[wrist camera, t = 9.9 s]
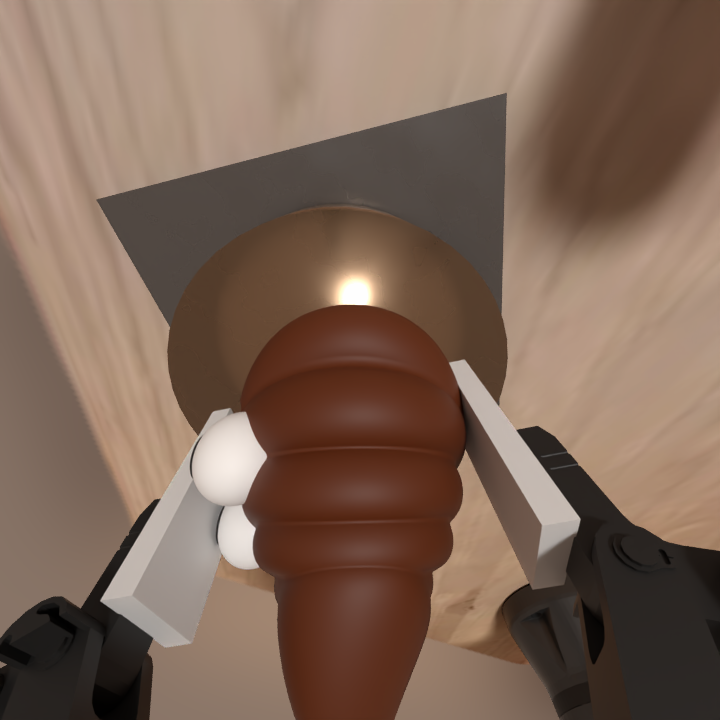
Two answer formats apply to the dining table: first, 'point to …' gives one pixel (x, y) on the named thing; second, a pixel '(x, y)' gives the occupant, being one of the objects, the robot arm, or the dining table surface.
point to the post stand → (327, 246)
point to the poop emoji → (342, 499)
